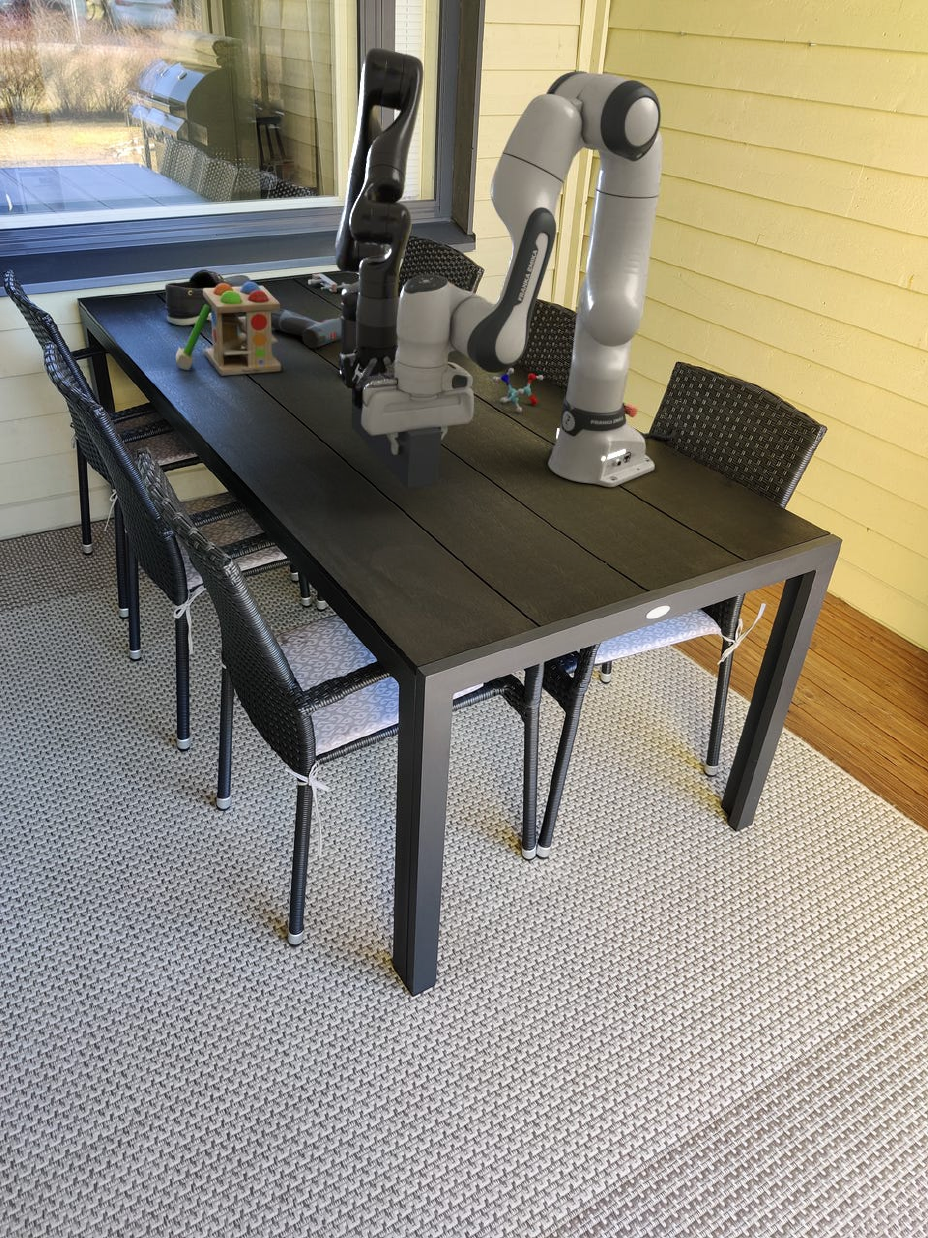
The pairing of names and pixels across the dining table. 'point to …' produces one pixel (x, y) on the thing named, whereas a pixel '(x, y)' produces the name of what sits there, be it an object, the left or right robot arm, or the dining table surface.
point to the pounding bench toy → (229, 347)
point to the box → (404, 449)
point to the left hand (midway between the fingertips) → (374, 405)
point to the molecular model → (513, 392)
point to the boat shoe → (194, 295)
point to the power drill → (307, 327)
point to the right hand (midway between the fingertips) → (416, 450)
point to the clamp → (326, 282)
